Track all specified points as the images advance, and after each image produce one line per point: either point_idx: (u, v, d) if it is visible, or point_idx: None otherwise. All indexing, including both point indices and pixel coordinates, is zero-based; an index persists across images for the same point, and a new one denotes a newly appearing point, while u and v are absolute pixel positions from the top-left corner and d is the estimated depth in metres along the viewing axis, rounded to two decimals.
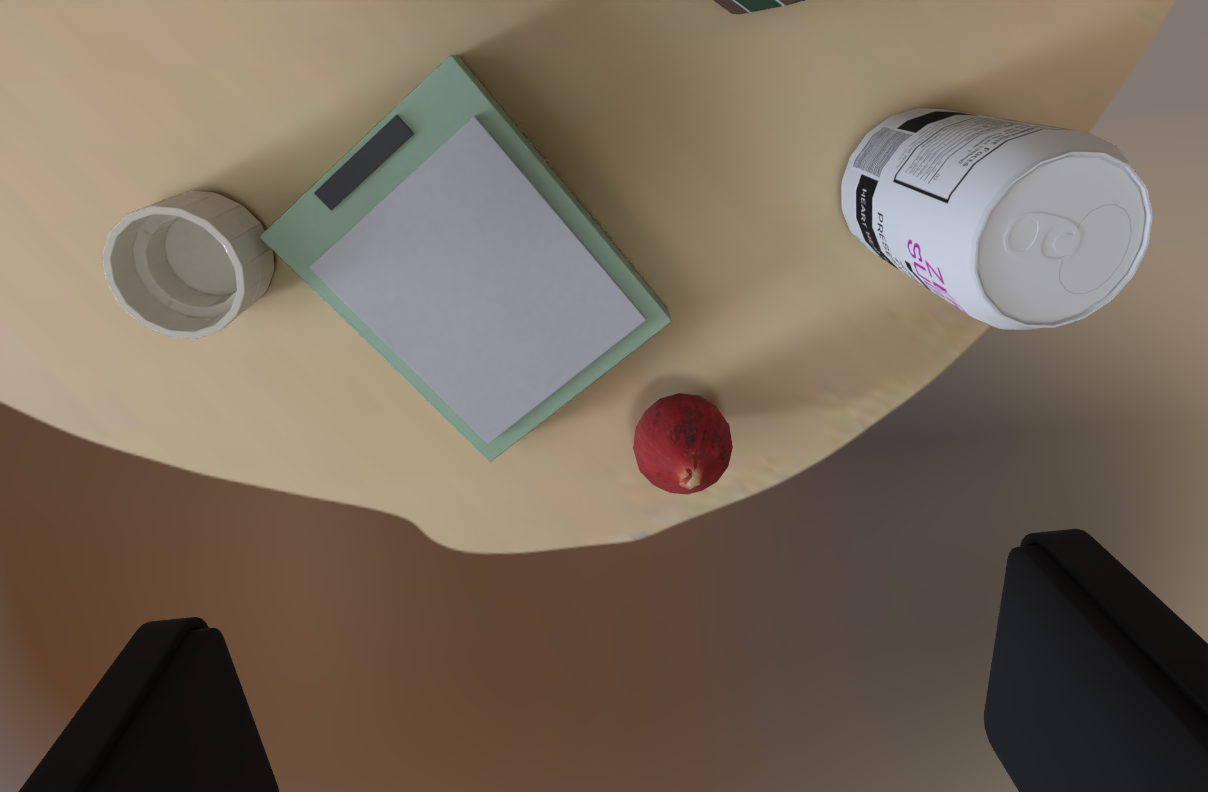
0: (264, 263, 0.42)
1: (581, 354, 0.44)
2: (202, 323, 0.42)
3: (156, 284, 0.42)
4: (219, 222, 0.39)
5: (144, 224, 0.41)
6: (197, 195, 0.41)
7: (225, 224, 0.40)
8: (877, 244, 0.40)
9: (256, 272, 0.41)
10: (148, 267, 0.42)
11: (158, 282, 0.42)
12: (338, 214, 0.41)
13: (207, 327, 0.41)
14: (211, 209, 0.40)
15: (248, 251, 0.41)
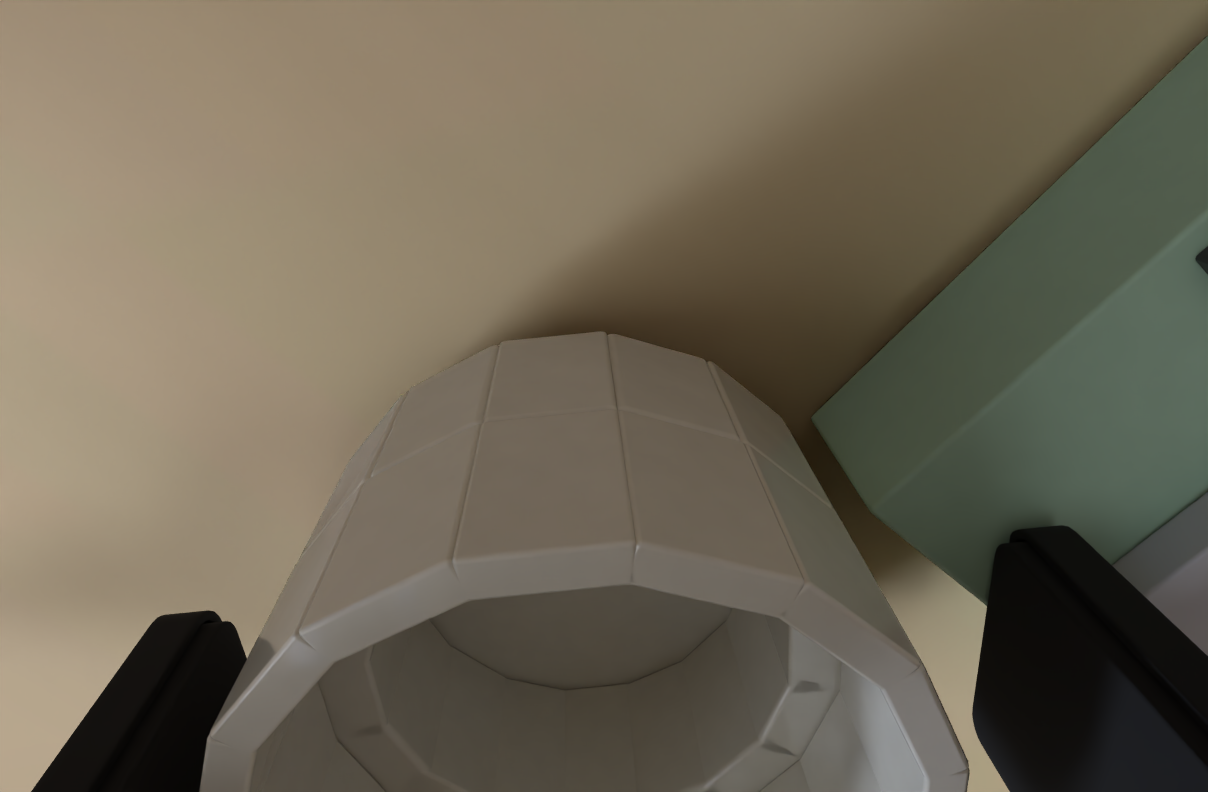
0: None
1: None
2: None
3: (424, 767, 0.10)
4: (808, 540, 0.07)
5: None
6: (563, 369, 0.09)
7: (813, 531, 0.07)
8: None
9: None
10: (386, 716, 0.09)
11: (429, 752, 0.10)
12: None
13: None
14: (707, 453, 0.07)
15: None
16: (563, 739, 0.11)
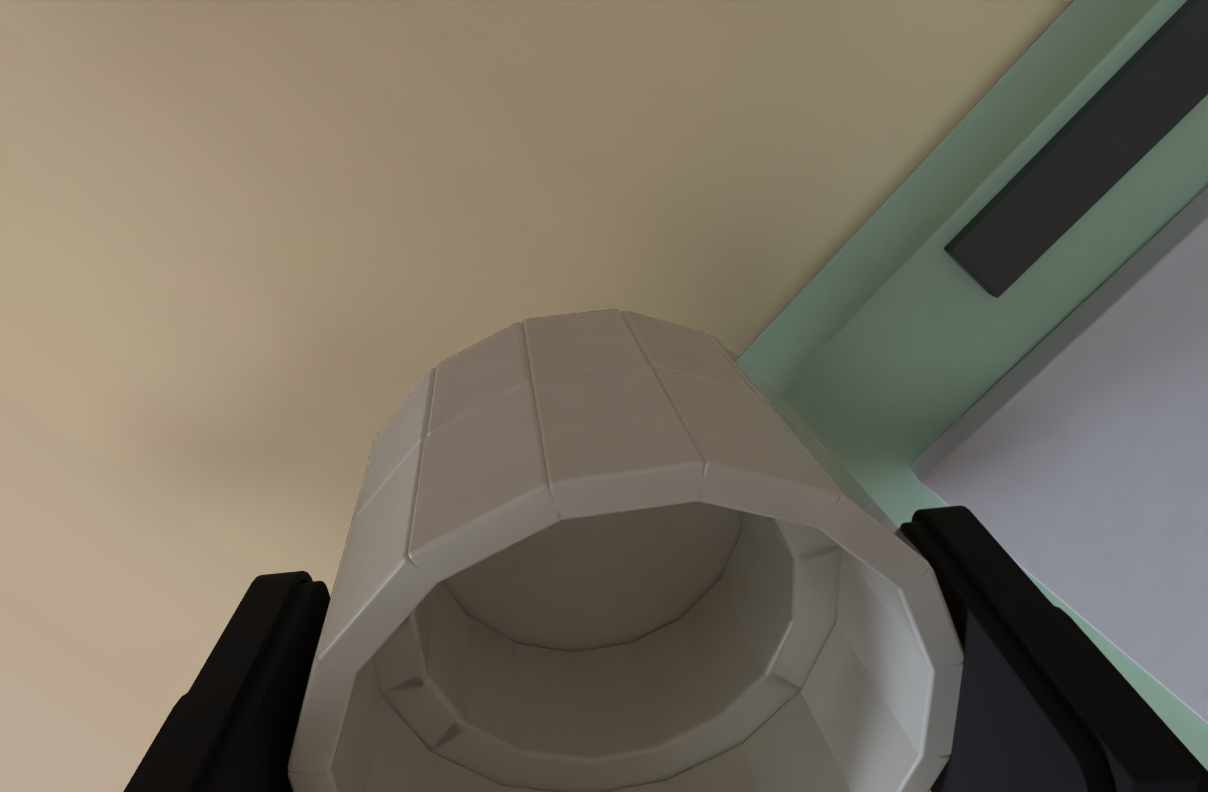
0: None
1: None
2: None
3: (459, 718, 0.10)
4: (831, 469, 0.08)
5: None
6: (592, 339, 0.10)
7: (830, 465, 0.08)
8: None
9: None
10: (427, 669, 0.10)
11: (462, 705, 0.10)
12: (1008, 305, 0.13)
13: None
14: (735, 403, 0.08)
15: None
16: (577, 694, 0.12)
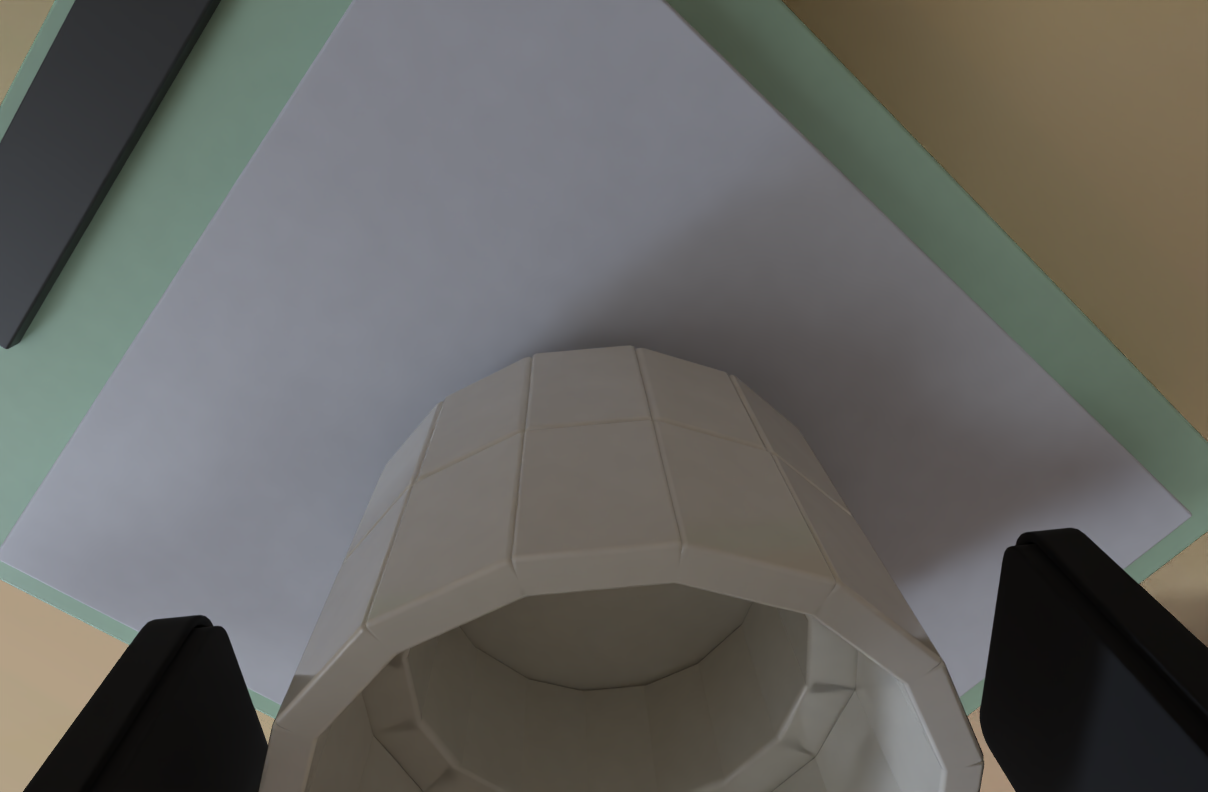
0: None
1: (963, 652, 0.13)
2: None
3: (455, 762, 0.10)
4: (836, 545, 0.07)
5: None
6: (597, 381, 0.09)
7: (838, 536, 0.07)
8: None
9: None
10: (421, 712, 0.10)
11: (459, 748, 0.10)
12: (47, 356, 0.11)
13: None
14: (738, 463, 0.08)
15: None
16: (584, 738, 0.12)
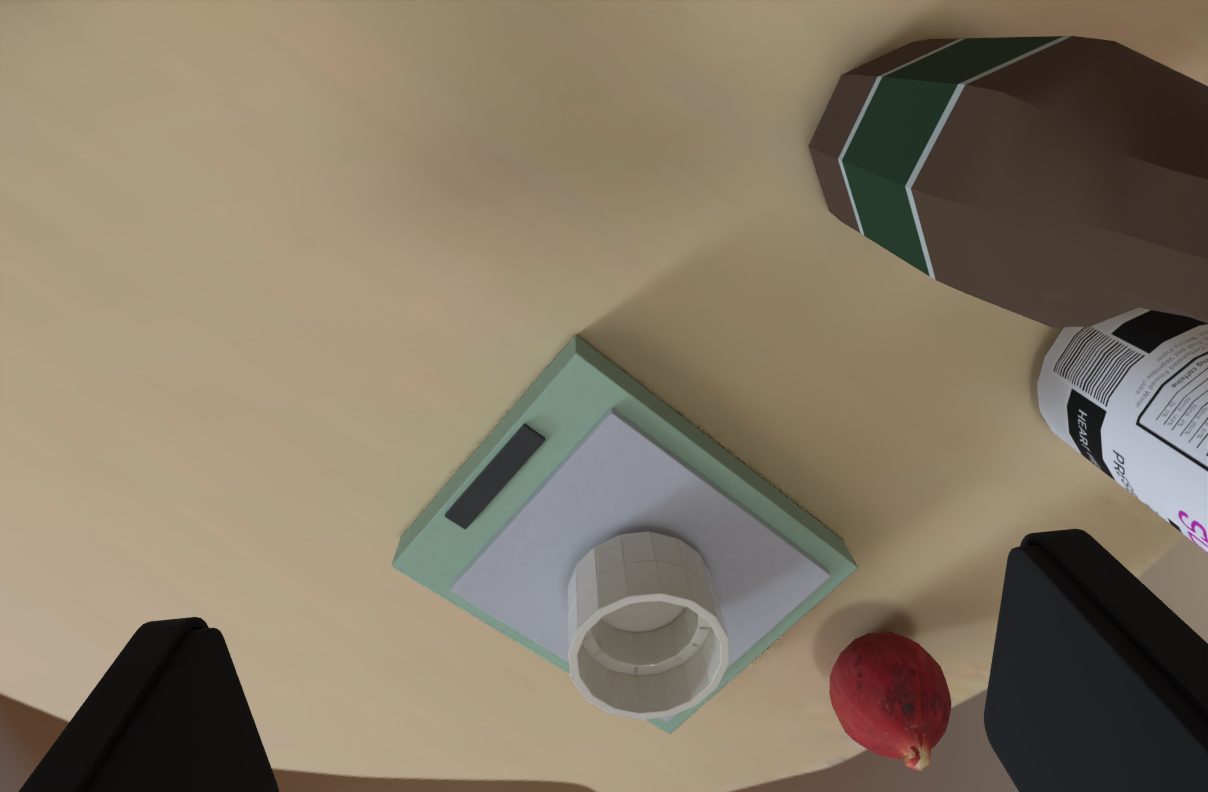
0: None
1: (761, 621, 0.39)
2: (661, 688, 0.35)
3: (599, 649, 0.36)
4: (695, 592, 0.33)
5: None
6: (641, 546, 0.35)
7: (698, 589, 0.33)
8: (1109, 473, 0.34)
9: None
10: (592, 634, 0.35)
11: (600, 646, 0.36)
12: (473, 530, 0.37)
13: (682, 703, 0.34)
14: (675, 572, 0.33)
15: (718, 609, 0.34)
16: (634, 646, 0.37)
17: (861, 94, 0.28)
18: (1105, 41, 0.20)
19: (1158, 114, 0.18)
